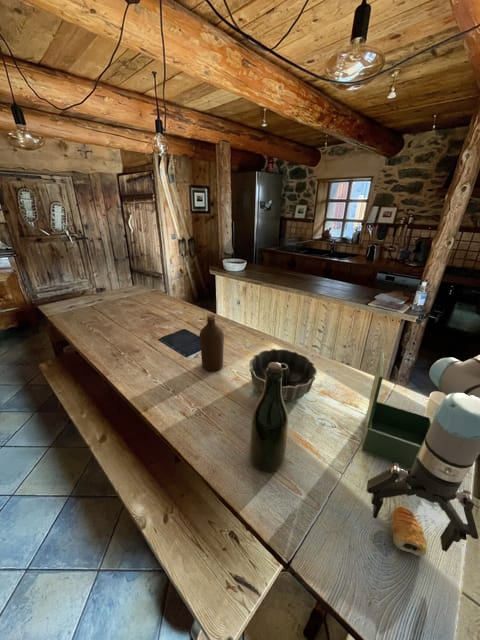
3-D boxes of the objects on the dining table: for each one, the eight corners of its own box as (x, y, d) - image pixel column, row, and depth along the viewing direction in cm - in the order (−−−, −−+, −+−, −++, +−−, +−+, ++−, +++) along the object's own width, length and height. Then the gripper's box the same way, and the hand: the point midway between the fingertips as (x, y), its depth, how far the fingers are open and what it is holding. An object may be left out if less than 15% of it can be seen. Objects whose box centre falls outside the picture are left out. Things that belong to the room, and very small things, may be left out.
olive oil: (209, 375, 114) (207, 323, 103) (196, 364, 122) (193, 314, 111) (229, 366, 120) (228, 316, 110) (215, 356, 128) (214, 308, 117)
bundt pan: (283, 360, 125) (285, 342, 121) (327, 392, 105) (331, 372, 101) (236, 379, 112) (236, 359, 108) (276, 419, 92) (278, 397, 88)
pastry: (386, 506, 67) (390, 497, 65) (416, 516, 65) (421, 507, 64) (392, 548, 59) (397, 539, 57) (427, 561, 57) (433, 552, 55)
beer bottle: (260, 436, 86) (266, 349, 72) (290, 452, 81) (303, 361, 67) (242, 461, 78) (245, 368, 64) (274, 480, 73) (285, 384, 59)
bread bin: (423, 437, 87) (432, 417, 83) (428, 475, 75) (439, 453, 71) (365, 418, 94) (370, 398, 90) (361, 450, 82) (368, 429, 78)
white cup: (426, 428, 90) (435, 405, 86) (417, 411, 97) (426, 389, 93) (452, 432, 88) (463, 410, 84) (442, 415, 95) (452, 393, 91)
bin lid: (383, 351, 82) (380, 350, 82) (382, 377, 70) (379, 376, 70) (372, 398, 90) (369, 397, 90) (369, 428, 78) (366, 427, 78)
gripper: (368, 453, 53) (347, 515, 62) (534, 517, 43) (480, 580, 52) (370, 427, 59) (351, 487, 68) (516, 478, 49) (471, 540, 58)
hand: (407, 527), depth 60 cm, fingers open, 13 cm apart
